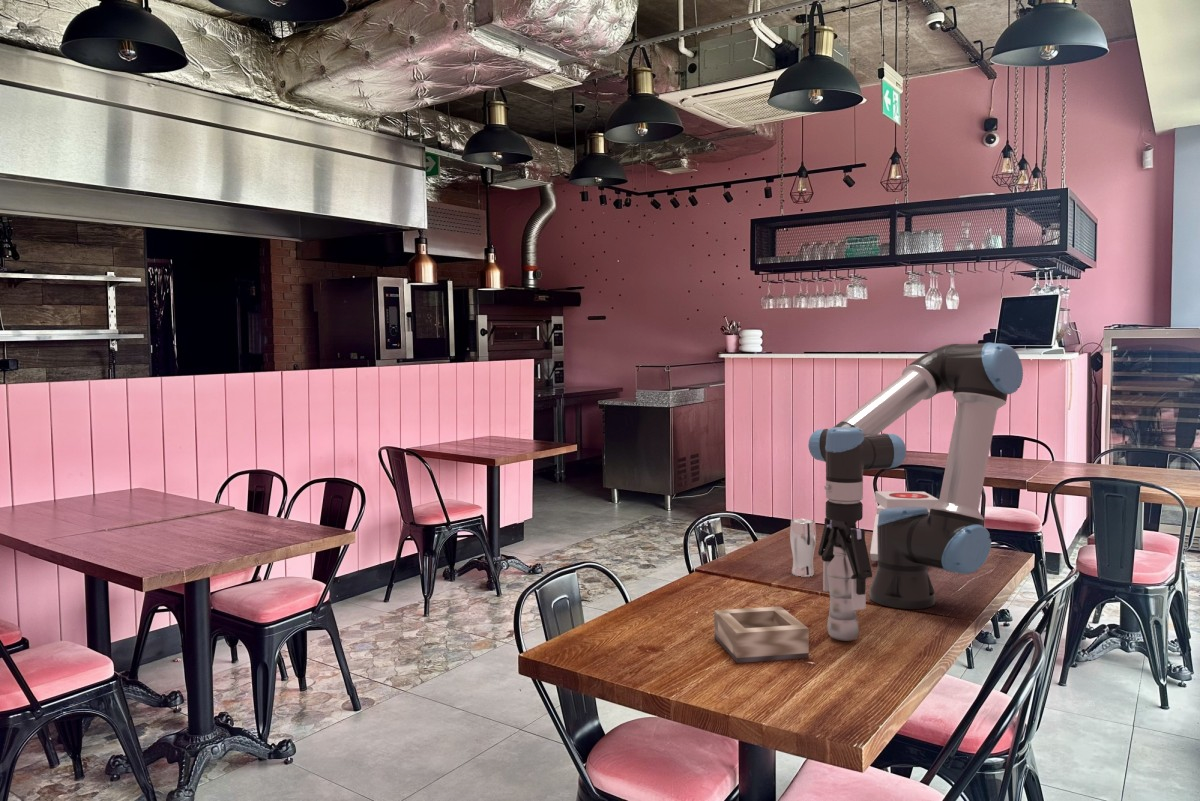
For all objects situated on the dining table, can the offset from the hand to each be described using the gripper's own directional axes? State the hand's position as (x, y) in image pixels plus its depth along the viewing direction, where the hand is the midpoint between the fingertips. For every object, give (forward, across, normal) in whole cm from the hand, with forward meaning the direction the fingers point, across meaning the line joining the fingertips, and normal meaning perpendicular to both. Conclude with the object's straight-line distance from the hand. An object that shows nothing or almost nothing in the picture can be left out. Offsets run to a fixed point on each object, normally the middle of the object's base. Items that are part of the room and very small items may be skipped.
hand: (843, 599), depth 175 cm
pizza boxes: (+9, -64, +50) cm, 82 cm away
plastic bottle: (+9, 0, 0) cm, 9 cm away
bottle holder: (+9, +1, -19) cm, 21 cm away
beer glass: (+9, -52, +13) cm, 54 cm away
